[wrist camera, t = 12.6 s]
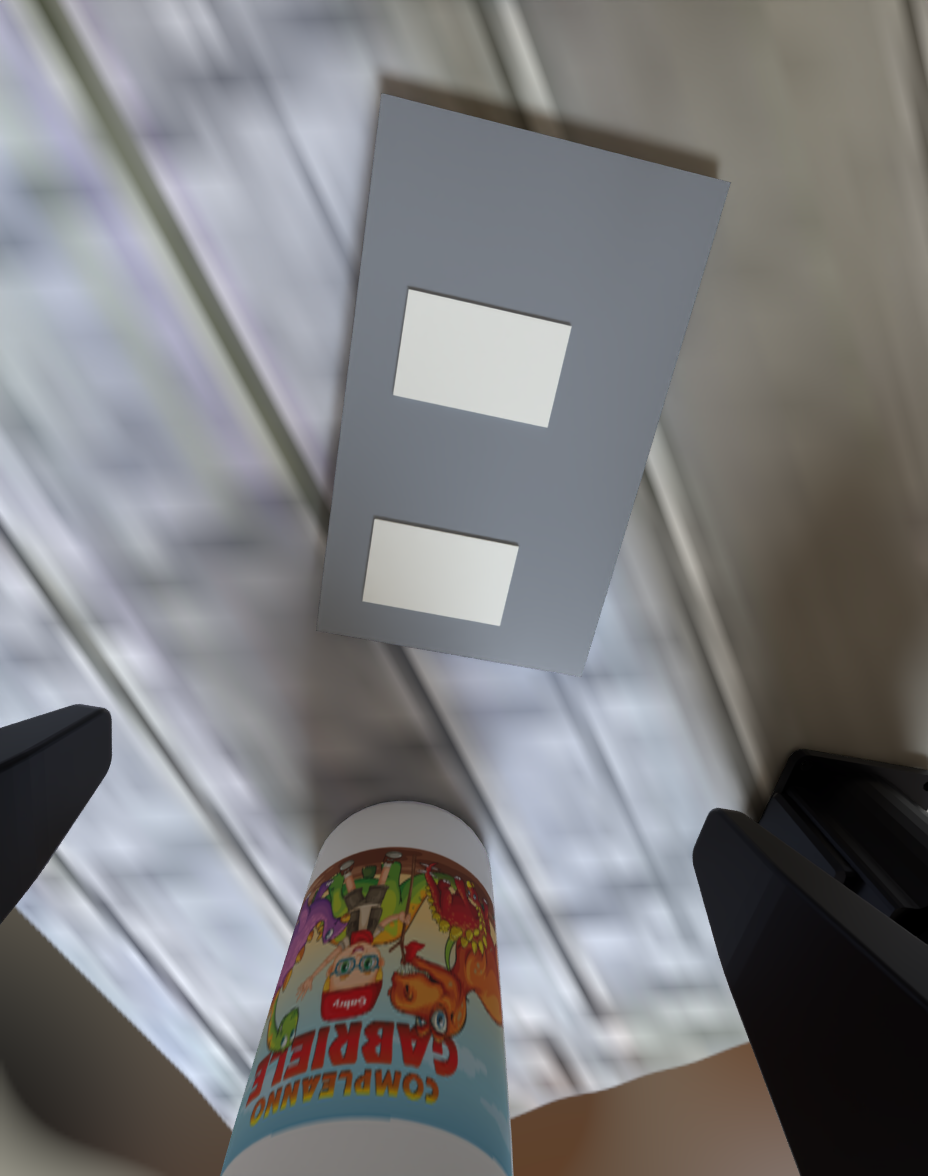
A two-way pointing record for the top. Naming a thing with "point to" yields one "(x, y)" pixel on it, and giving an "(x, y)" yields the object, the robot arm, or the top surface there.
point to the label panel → (503, 383)
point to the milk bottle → (385, 1013)
